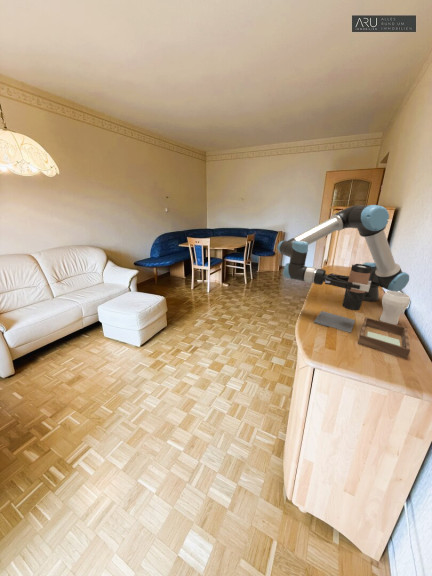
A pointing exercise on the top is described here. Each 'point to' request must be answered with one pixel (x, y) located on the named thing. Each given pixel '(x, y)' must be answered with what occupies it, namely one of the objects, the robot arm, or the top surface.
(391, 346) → the brown wooden tray
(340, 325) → the charcoal mat
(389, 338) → the top offcut
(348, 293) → the travel mug
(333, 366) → the top surface
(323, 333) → the top surface
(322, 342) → the top surface
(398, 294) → the cup
